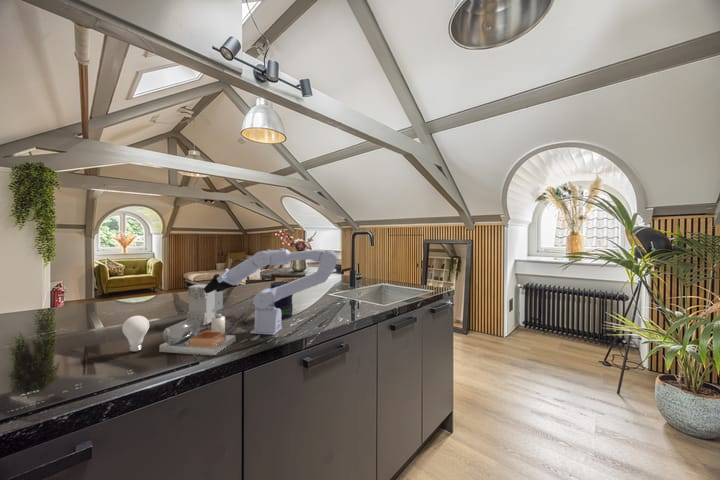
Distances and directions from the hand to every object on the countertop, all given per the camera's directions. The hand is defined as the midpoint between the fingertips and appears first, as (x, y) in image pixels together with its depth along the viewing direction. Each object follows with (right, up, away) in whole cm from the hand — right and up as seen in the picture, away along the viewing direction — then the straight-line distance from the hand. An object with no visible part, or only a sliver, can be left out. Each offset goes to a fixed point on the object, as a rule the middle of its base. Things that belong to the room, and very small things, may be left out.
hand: (210, 290), depth 110 cm
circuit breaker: (-9, -15, +14) cm, 23 cm away
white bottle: (+4, -15, -3) cm, 16 cm away
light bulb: (-13, -15, -21) cm, 29 cm away
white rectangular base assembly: (+4, -16, -15) cm, 22 cm away
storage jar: (+21, -16, +21) cm, 34 cm away
